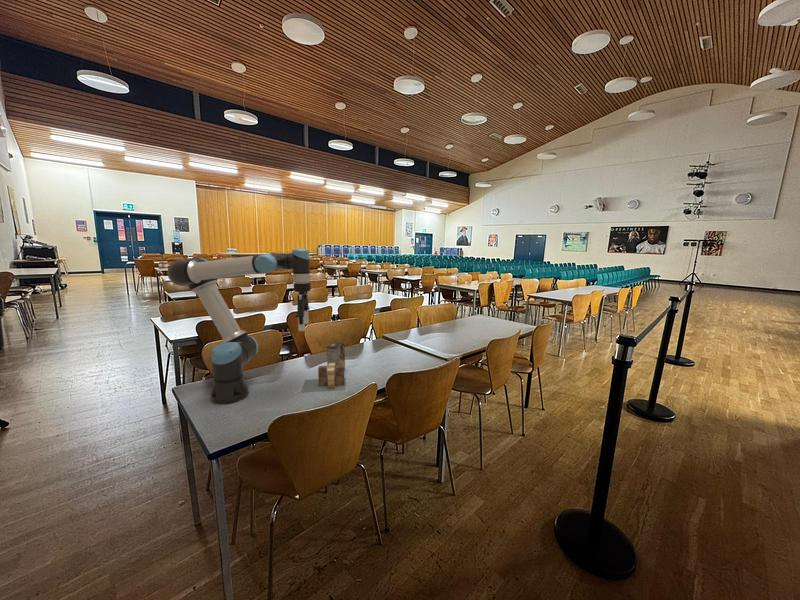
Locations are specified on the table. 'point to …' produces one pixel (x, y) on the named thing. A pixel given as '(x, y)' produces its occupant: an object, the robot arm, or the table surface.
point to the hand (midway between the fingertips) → (303, 327)
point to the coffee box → (336, 354)
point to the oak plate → (331, 376)
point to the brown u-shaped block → (324, 377)
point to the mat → (314, 386)
